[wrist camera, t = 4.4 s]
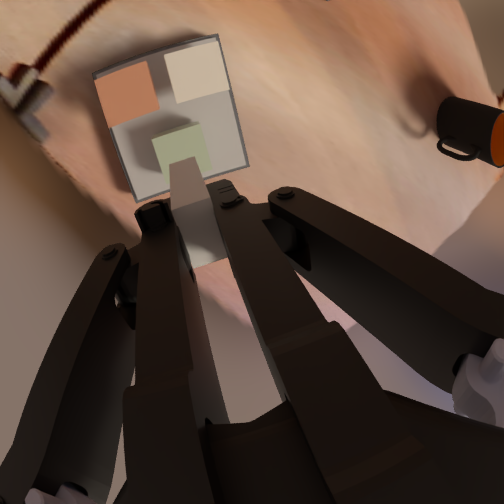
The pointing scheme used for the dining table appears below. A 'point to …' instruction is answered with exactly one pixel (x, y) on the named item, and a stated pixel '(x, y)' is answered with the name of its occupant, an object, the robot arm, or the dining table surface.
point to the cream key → (196, 71)
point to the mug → (471, 130)
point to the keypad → (176, 125)
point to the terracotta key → (127, 94)
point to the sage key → (181, 147)
